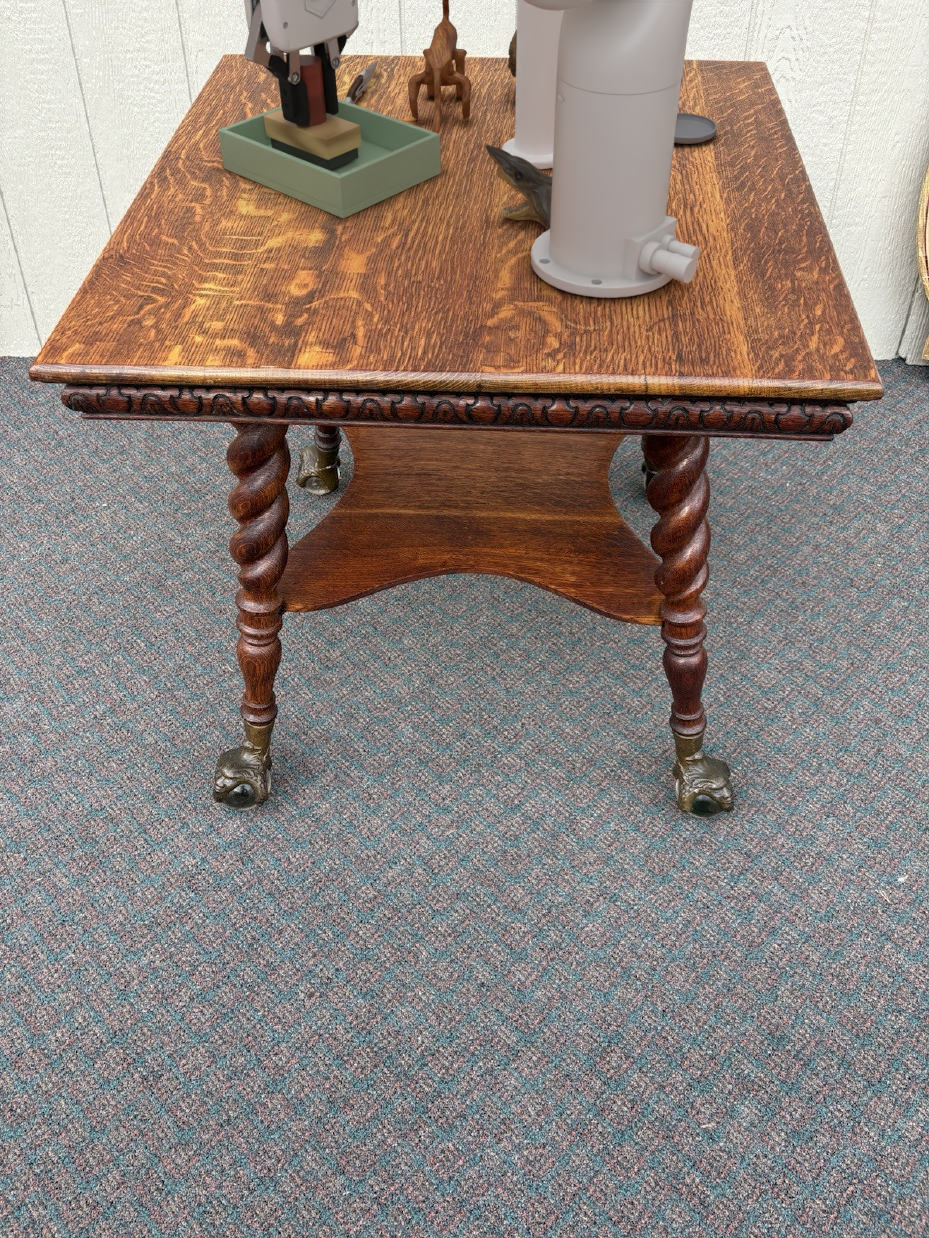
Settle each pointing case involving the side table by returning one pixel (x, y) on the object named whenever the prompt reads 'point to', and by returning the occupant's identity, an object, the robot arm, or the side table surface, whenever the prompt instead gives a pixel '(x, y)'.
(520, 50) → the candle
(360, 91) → the pocket knife
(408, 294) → the side table surface
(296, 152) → the stamp
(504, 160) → the shark head
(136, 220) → the side table surface
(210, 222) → the side table surface
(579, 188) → the robot arm
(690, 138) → the dark grey round piece
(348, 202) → the tray
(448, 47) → the wooden animal figurine
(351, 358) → the side table surface
